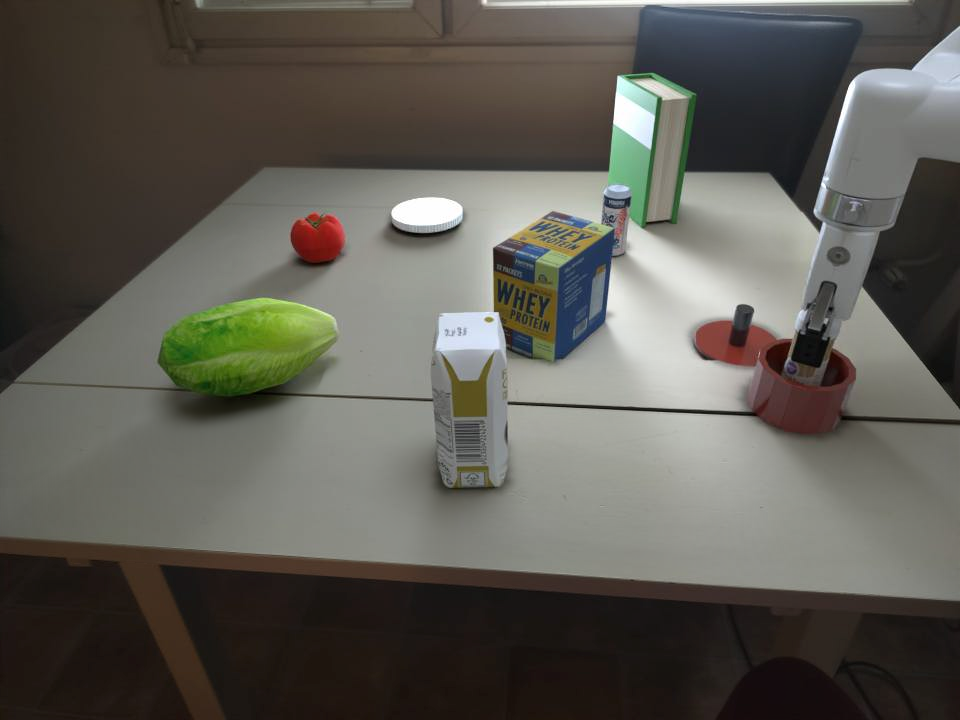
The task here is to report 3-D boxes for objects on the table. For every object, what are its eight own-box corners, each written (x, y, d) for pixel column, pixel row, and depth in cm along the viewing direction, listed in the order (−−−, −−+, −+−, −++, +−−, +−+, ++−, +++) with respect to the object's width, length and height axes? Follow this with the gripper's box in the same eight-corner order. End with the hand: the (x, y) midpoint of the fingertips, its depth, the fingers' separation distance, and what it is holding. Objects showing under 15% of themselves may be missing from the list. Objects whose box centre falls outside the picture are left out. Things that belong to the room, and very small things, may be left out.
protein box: (492, 344, 97) (490, 247, 88) (549, 300, 107) (553, 209, 98) (553, 369, 92) (558, 268, 83) (607, 320, 101) (617, 225, 92)
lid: (764, 326, 99) (775, 287, 95) (791, 373, 90) (803, 331, 86) (685, 326, 100) (692, 287, 96) (703, 372, 90) (712, 331, 86)
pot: (818, 386, 87) (835, 338, 83) (852, 441, 78) (872, 391, 74) (736, 385, 88) (748, 338, 83) (760, 440, 79) (774, 390, 75)
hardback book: (676, 223, 130) (696, 94, 116) (641, 227, 129) (657, 97, 115) (639, 190, 144) (653, 72, 130) (606, 194, 143) (617, 75, 129)
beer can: (593, 253, 120) (599, 189, 113) (605, 243, 123) (611, 180, 116) (618, 259, 118) (625, 194, 111) (629, 249, 121) (637, 185, 114)
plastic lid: (410, 243, 125) (409, 231, 124) (381, 218, 135) (380, 206, 134) (475, 227, 131) (474, 215, 129) (443, 204, 141) (442, 192, 139)
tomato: (351, 246, 125) (346, 209, 120) (339, 268, 118) (332, 229, 113) (303, 245, 126) (296, 208, 121) (287, 267, 118) (279, 228, 114)
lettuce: (352, 391, 89) (339, 316, 82) (170, 432, 83) (140, 355, 76) (336, 341, 99) (323, 270, 92) (172, 375, 93) (146, 302, 86)
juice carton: (439, 498, 73) (426, 355, 62) (442, 445, 80) (431, 308, 69) (508, 497, 72) (508, 353, 61) (505, 443, 79) (505, 306, 69)
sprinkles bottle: (764, 406, 83) (790, 313, 76) (787, 392, 85) (815, 301, 78) (796, 425, 80) (827, 331, 72) (820, 411, 82) (851, 318, 74)
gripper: (888, 242, 60) (831, 401, 70) (908, 183, 71) (856, 327, 82) (800, 225, 63) (758, 379, 74) (832, 171, 75) (792, 311, 85)
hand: (810, 350), depth 78 cm, fingers closed on sprinkles bottle, 4 cm apart
